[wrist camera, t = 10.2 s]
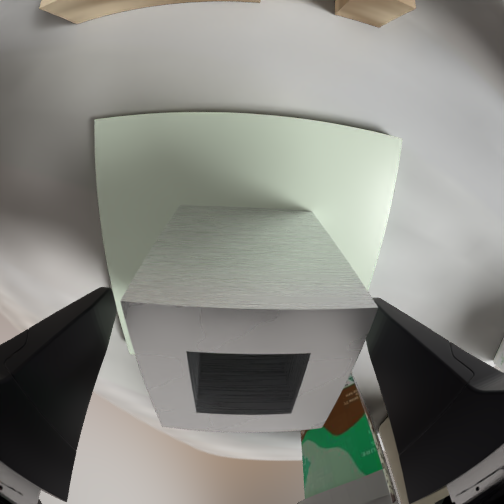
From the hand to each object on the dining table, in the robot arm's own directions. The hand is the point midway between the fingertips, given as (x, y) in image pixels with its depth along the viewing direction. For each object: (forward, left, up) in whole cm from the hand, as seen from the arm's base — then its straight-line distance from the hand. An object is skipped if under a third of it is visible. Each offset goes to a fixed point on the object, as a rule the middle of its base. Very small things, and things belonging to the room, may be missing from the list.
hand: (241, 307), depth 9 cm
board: (0, 0, -4) cm, 4 cm away
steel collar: (0, 0, -3) cm, 3 cm away
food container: (-7, +13, -4) cm, 15 cm away
